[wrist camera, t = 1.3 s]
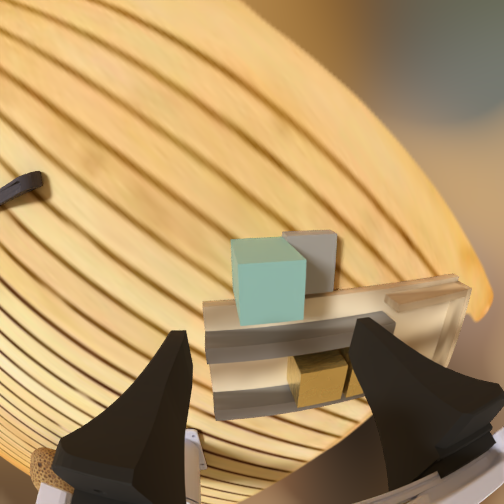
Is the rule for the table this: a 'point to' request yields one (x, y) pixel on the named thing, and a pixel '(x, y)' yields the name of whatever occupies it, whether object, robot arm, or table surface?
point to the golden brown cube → (316, 377)
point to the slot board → (323, 338)
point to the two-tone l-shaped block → (281, 274)
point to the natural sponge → (46, 470)
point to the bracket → (20, 186)
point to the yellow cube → (350, 376)
